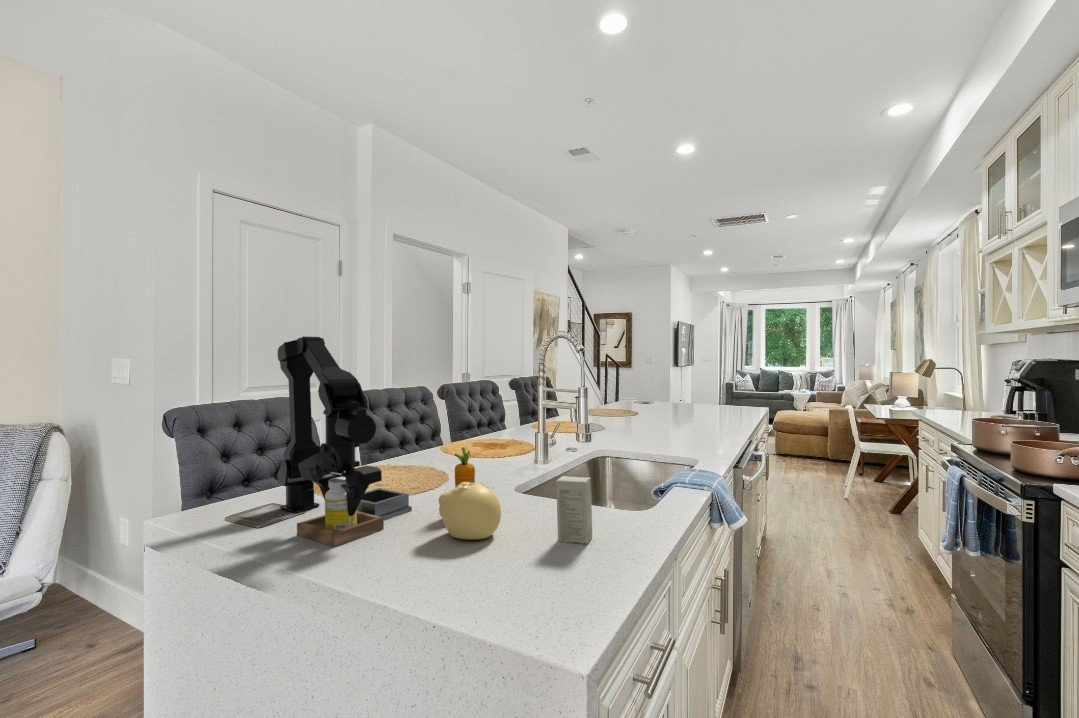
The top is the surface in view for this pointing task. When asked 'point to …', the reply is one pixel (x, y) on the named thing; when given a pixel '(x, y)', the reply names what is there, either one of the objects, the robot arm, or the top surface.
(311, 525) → the walnut collar
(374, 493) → the dark metal seat block
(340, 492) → the pill bottle
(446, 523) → the sculpture
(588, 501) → the skincare box
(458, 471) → the carrot
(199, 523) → the top surface
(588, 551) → the top surface
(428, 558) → the top surface
